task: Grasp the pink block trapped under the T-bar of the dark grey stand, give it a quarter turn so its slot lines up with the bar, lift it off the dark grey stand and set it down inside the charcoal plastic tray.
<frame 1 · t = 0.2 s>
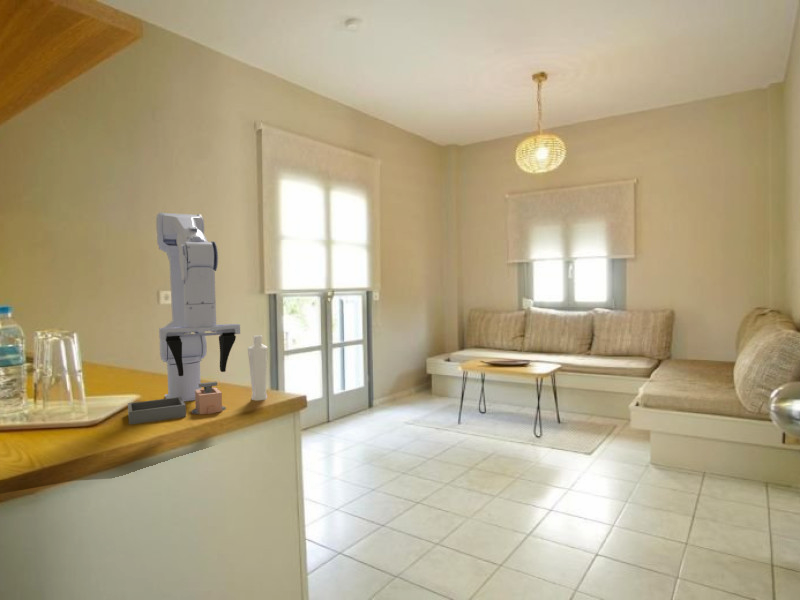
hand: (202, 373, 96), 10 cm above the countertop, fingers open, 7 cm apart
pink block: (208, 409, 106), resting on dark grey stand
dark grey stand: (208, 410, 106), on the countertop
tray: (156, 416, 102), on the countertop
perfume bottle: (258, 400, 116), on the countertop
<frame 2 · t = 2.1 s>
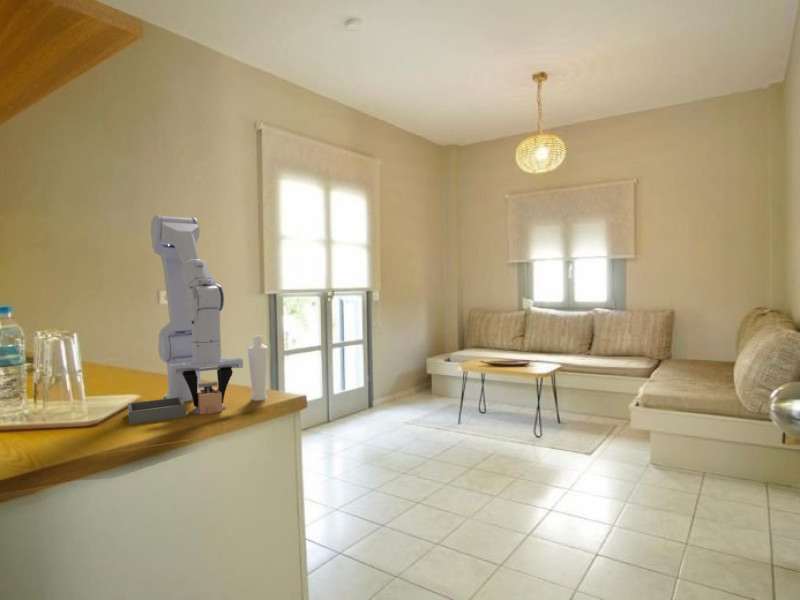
hand: (208, 404, 106), 1 cm above the countertop, fingers closed on pink block, 4 cm apart
pink block: (208, 409, 106), resting on dark grey stand, touching gripper
everything else where it was.
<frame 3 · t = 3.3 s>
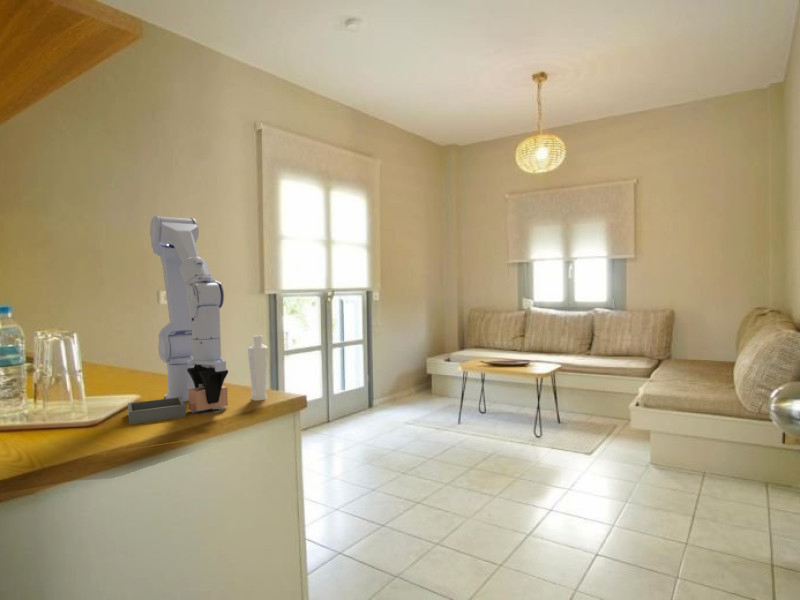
hand: (208, 401, 106), 2 cm above the countertop, fingers closed on pink block, 4 cm apart
pink block: (208, 406, 106), point 1 cm above the countertop, touching gripper
everything else where it was.
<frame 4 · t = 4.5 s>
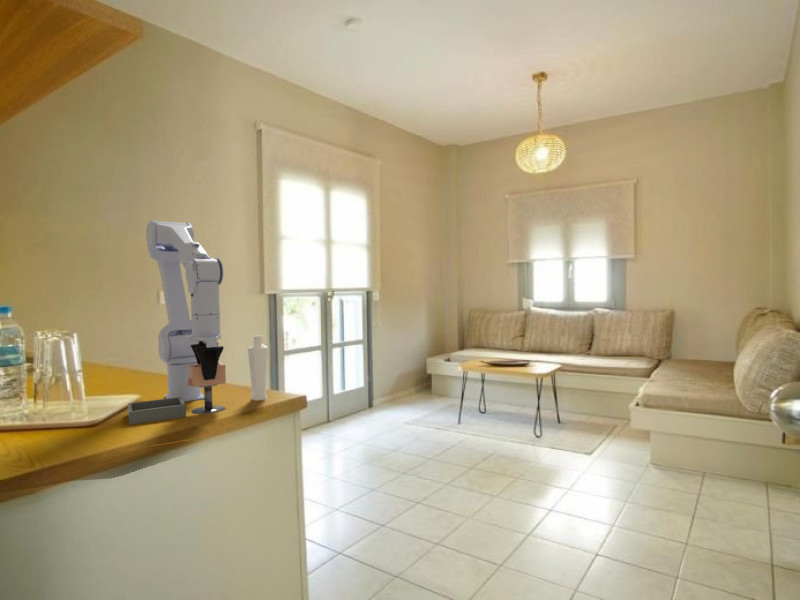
hand: (207, 377, 106), 7 cm above the countertop, fingers closed on pink block, 4 cm apart
pink block: (207, 383, 106), point 6 cm above the countertop, touching gripper
everything else where it was.
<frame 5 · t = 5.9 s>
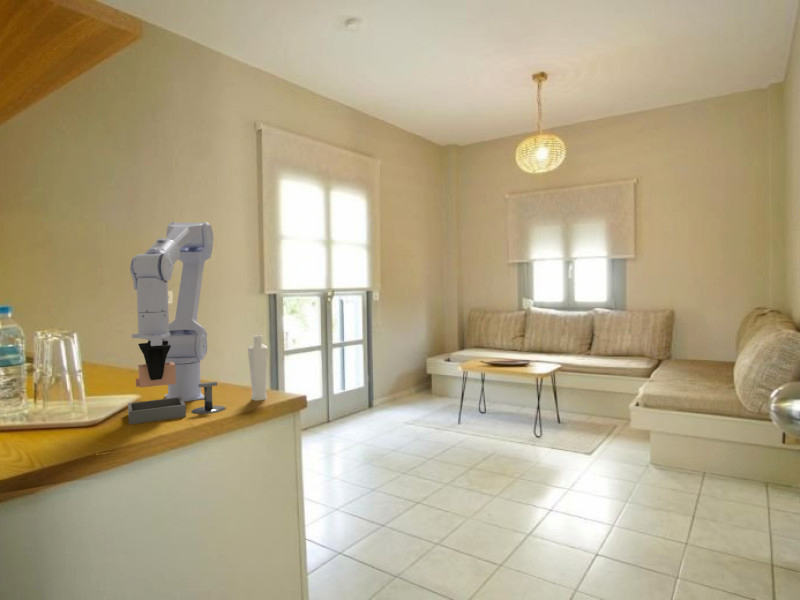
hand: (155, 377, 102), 8 cm above the countertop, fingers closed on pink block, 4 cm apart
pink block: (157, 383, 102), point 7 cm above the countertop, touching gripper
everything else where it was.
when the fingers open (3 cm above the countertop, at t = 7.1 s): pink block drops 1 cm, resting on tray.
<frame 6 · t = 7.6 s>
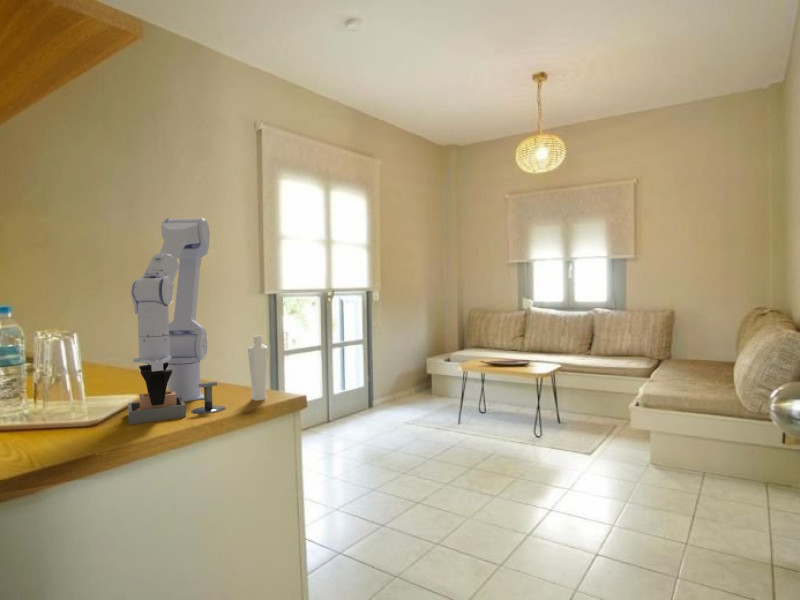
hand: (156, 401, 102), 3 cm above the countertop, fingers open, 7 cm apart
pink block: (158, 413, 102), point 1 cm above the countertop, touching tray
everything else where it was.
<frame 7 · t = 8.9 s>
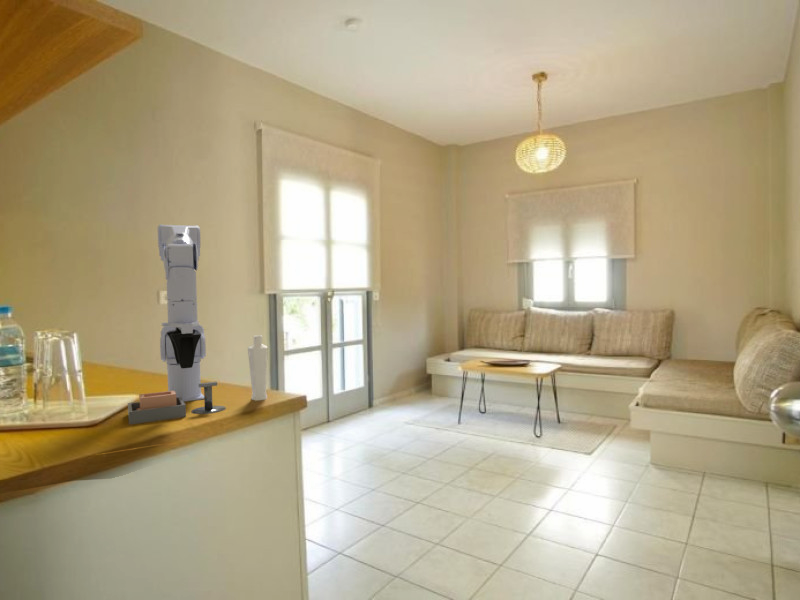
hand: (184, 365, 104), 10 cm above the countertop, fingers open, 7 cm apart
nothing on the countertop moved.
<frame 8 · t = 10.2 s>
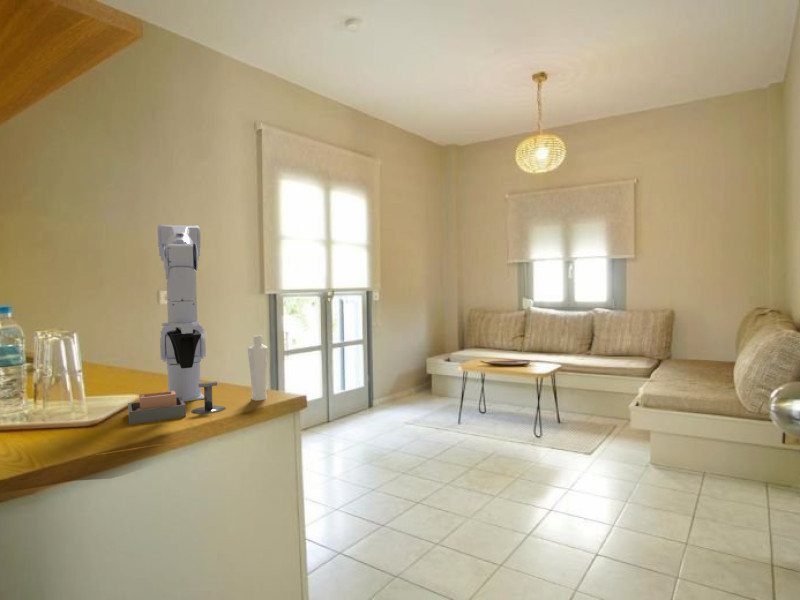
hand: (184, 365, 104), 10 cm above the countertop, fingers open, 7 cm apart
nothing on the countertop moved.
at the end: pink block 0.3 cm off-centre on the tray, point 0.6 cm above the tray's base; the gripper is holding nothing; pink block tilted 0° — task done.
